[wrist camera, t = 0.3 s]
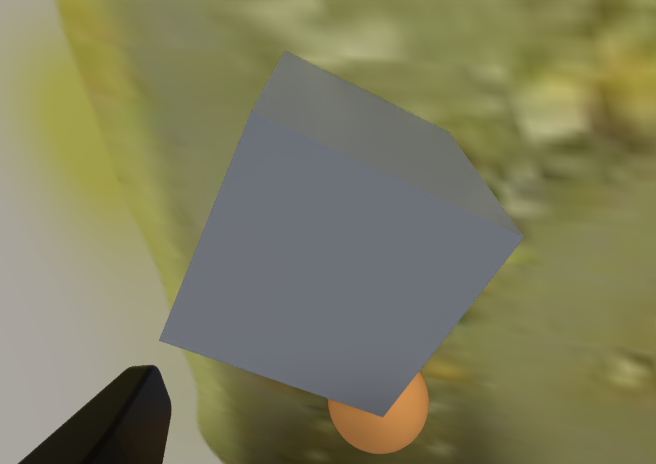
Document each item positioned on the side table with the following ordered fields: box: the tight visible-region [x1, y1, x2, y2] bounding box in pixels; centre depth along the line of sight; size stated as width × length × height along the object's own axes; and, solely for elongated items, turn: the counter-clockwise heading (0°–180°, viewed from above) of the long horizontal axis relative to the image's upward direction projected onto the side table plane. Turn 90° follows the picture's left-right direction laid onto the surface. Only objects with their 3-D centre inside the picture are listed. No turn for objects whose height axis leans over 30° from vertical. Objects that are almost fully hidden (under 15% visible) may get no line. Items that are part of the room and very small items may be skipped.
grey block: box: [159, 51, 524, 417], centre depth 17 cm, size 7×7×9 cm
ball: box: [328, 371, 429, 454], centre depth 24 cm, size 5×5×5 cm
